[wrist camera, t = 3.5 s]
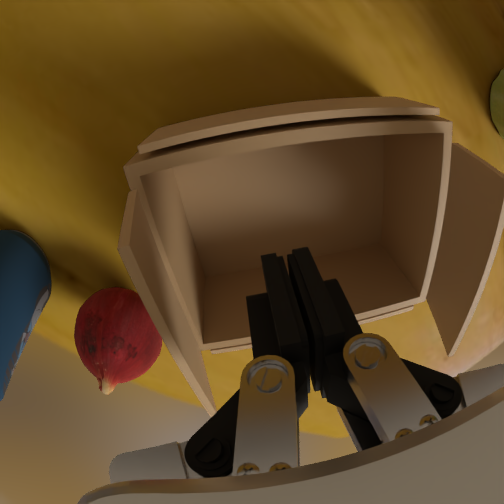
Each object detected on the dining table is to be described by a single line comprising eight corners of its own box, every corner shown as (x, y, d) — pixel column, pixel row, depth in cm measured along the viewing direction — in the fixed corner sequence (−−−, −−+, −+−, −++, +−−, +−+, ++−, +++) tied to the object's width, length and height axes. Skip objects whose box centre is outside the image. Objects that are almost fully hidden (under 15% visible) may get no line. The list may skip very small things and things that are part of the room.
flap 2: (447, 356, 11) (453, 355, 11) (507, 181, 6) (513, 181, 6) (426, 298, 14) (430, 297, 14) (451, 142, 9) (457, 143, 9)
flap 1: (129, 244, 6) (117, 248, 6) (218, 415, 11) (211, 417, 11) (136, 189, 10) (128, 191, 10) (199, 347, 14) (194, 349, 14)
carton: (385, 92, 14) (452, 109, 9) (382, 251, 20) (423, 307, 15) (153, 124, 14) (118, 152, 9) (202, 286, 20) (199, 357, 15)
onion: (79, 271, 19) (37, 360, 12) (150, 255, 19) (122, 355, 12) (113, 327, 22) (92, 413, 15) (178, 318, 22) (170, 412, 15)
